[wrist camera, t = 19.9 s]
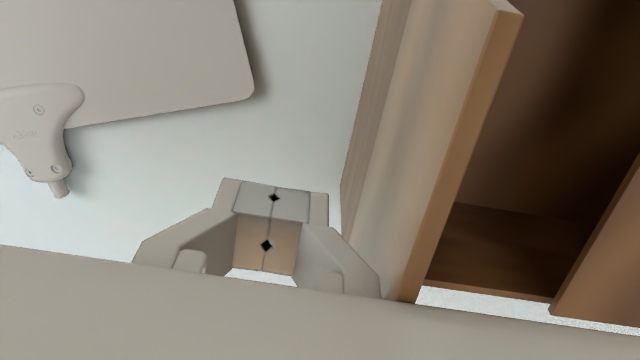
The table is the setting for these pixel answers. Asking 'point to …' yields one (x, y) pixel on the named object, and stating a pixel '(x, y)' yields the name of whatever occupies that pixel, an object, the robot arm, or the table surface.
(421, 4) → the flap
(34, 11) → the grey board with tab
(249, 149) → the table surface
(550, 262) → the carton
